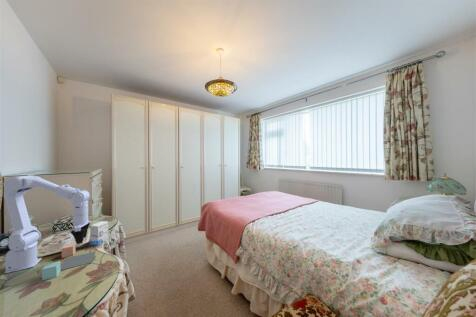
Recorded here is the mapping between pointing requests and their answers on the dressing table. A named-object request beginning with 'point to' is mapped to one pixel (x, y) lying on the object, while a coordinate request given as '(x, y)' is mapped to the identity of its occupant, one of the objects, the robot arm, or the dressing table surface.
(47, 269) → the teal brick
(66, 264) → the mat
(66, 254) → the peach block
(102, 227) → the ink box
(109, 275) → the dressing table surface
